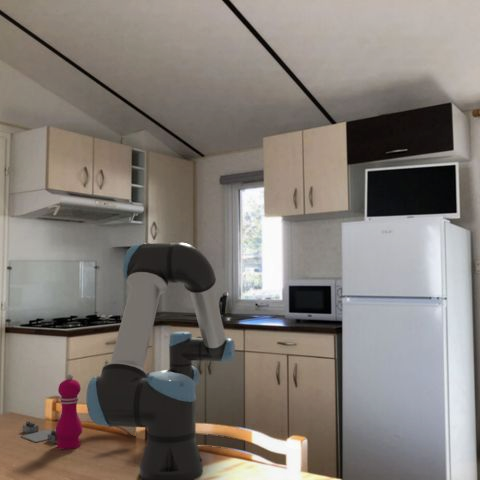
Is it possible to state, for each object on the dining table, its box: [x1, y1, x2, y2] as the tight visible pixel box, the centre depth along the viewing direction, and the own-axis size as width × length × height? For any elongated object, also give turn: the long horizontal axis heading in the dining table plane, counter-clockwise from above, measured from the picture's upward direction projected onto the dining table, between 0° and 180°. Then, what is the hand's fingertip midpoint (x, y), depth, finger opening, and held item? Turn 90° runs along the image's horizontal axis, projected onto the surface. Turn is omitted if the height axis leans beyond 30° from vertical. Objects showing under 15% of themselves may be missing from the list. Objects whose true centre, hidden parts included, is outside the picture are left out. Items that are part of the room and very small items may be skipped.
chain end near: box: [47, 429, 59, 445], centre depth 160 cm, size 4×3×3 cm
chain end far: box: [22, 421, 40, 435], centre depth 170 cm, size 4×3×3 cm
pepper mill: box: [55, 373, 83, 450], centre depth 156 cm, size 7×7×20 cm
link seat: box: [20, 429, 53, 444], centre depth 165 cm, size 9×9×1 cm
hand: (102, 394), depth 164 cm, fingers open, 13 cm apart
